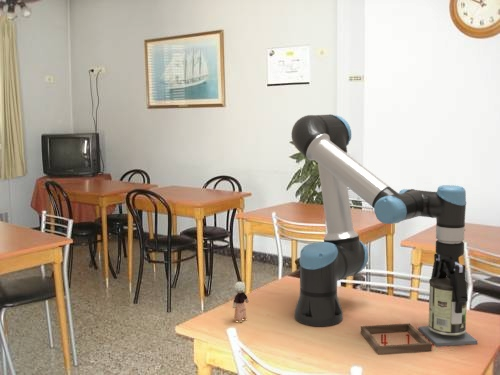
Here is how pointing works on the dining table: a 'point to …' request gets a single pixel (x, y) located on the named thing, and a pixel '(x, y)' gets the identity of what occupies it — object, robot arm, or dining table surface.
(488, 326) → the dining table surface
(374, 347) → the square picture frame
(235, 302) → the grandmother figurine
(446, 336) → the mat
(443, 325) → the coffee can
